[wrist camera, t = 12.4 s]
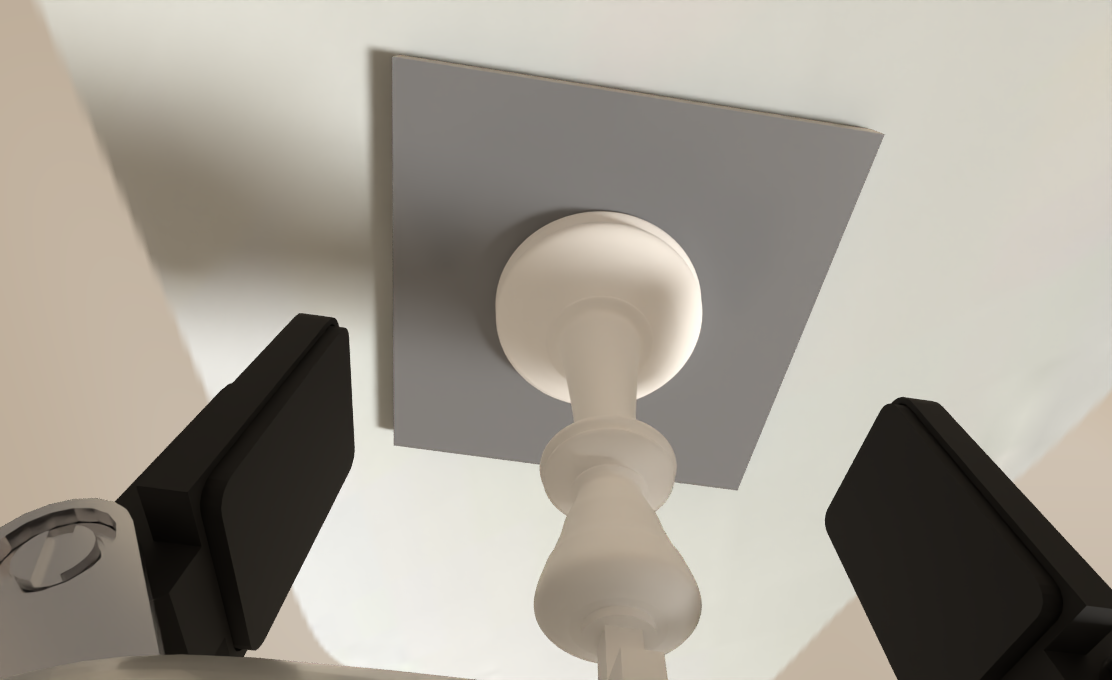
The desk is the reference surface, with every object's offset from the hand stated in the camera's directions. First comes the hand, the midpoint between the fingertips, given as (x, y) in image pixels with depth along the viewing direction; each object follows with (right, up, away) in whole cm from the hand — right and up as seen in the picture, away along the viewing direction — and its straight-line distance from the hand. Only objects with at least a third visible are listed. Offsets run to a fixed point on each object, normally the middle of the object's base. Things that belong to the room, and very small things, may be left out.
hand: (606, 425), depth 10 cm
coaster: (0, +2, +4) cm, 5 cm away
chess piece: (0, +2, +4) cm, 5 cm away
